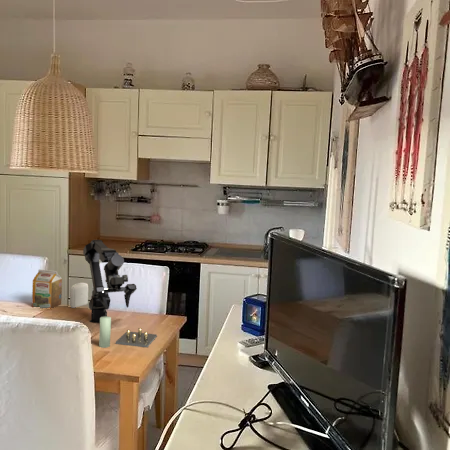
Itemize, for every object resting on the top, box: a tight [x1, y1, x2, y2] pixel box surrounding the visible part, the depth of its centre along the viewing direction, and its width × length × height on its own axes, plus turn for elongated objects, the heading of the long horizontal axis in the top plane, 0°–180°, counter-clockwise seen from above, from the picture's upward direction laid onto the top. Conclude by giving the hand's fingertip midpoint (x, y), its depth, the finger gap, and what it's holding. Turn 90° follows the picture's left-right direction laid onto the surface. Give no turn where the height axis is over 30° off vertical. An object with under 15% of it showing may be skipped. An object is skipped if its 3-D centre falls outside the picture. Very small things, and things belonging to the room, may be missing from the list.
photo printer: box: [69, 282, 89, 309], centre depth 254 cm, size 10×4×12 cm, turn 148°
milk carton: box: [31, 269, 63, 310], centre depth 250 cm, size 11×11×19 cm
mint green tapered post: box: [98, 315, 112, 349], centre depth 199 cm, size 4×4×12 cm
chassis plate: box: [115, 327, 158, 348], centre depth 208 cm, size 14×14×4 cm
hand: (117, 308), depth 208 cm, fingers open, 9 cm apart
